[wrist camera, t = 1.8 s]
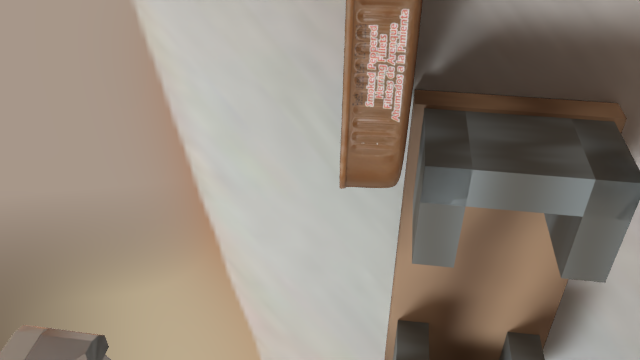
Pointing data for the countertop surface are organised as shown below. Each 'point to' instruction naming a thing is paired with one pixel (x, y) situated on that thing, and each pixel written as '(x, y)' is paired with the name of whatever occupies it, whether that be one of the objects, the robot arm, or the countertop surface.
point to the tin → (377, 89)
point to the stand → (503, 220)
